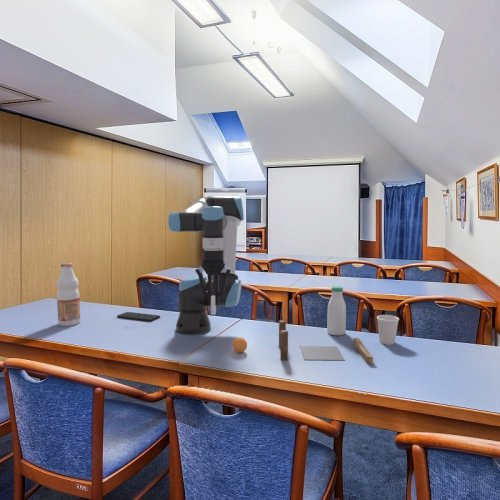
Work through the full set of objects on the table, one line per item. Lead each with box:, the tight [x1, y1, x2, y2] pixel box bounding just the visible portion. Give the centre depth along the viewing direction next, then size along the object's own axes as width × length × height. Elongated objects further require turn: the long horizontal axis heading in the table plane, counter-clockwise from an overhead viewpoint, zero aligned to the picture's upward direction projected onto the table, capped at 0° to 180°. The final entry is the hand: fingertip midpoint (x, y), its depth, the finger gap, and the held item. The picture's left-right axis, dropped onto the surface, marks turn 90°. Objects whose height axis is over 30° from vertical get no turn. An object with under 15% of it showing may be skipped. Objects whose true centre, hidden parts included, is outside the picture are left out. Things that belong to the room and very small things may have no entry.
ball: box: [231, 336, 248, 354], centre depth 144 cm, size 6×6×6 cm
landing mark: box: [299, 345, 346, 362], centre depth 144 cm, size 14×14×1 cm
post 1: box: [278, 320, 287, 349], centre depth 150 cm, size 3×3×10 cm
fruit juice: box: [56, 262, 81, 327], centre depth 180 cm, size 9×9×28 cm
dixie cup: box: [376, 314, 400, 346], centre depth 155 cm, size 8×8×10 cm
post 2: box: [279, 329, 289, 361], centre depth 137 cm, size 3×3×10 cm
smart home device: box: [116, 311, 161, 323], centre depth 192 cm, size 8×2×20 cm
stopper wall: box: [352, 337, 374, 365], centre depth 143 cm, size 2×20×2 cm, turn 178°
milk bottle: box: [326, 285, 347, 336], centre depth 166 cm, size 8×8×20 cm
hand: (213, 313), depth 143 cm, fingers closed
